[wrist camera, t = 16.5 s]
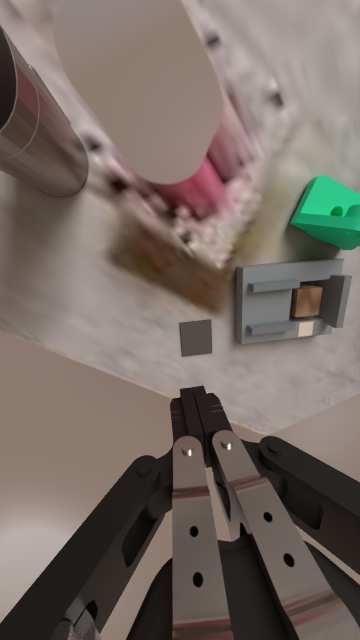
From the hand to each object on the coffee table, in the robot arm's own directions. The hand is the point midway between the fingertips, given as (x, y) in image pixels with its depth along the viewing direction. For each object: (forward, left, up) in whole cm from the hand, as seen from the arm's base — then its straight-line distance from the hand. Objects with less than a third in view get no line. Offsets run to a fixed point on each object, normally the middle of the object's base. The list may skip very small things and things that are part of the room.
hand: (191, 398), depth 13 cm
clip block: (+2, +25, -25) cm, 35 cm away
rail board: (+2, +22, -27) cm, 35 cm away
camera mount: (-12, +29, -27) cm, 42 cm away
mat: (+8, +5, -27) cm, 29 cm away
